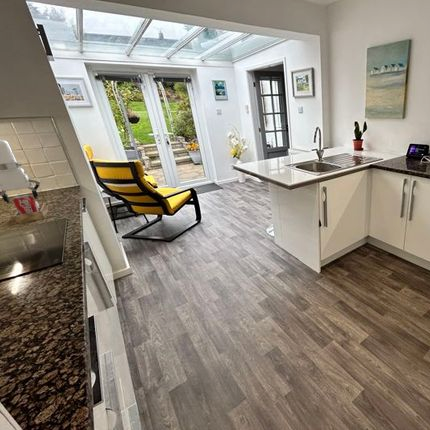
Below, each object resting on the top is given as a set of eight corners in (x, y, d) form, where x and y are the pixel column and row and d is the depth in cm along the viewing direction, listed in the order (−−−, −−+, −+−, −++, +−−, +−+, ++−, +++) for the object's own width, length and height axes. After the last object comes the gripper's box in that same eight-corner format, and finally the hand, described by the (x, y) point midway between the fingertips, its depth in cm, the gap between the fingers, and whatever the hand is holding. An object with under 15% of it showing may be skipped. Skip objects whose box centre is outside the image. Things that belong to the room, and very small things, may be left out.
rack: (18, 225, 130) (13, 216, 129) (24, 215, 144) (20, 206, 142) (45, 219, 136) (41, 211, 135) (48, 210, 150) (45, 202, 148)
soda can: (22, 221, 132) (11, 199, 127) (22, 218, 136) (11, 196, 132) (42, 217, 137) (31, 195, 132) (41, 214, 141) (31, 193, 137)
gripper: (33, 163, 134) (47, 195, 141) (-19, 168, 124) (-2, 202, 130) (31, 165, 129) (45, 198, 135) (-23, 170, 118) (-5, 206, 125)
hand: (22, 200), depth 133 cm, fingers open, 9 cm apart
